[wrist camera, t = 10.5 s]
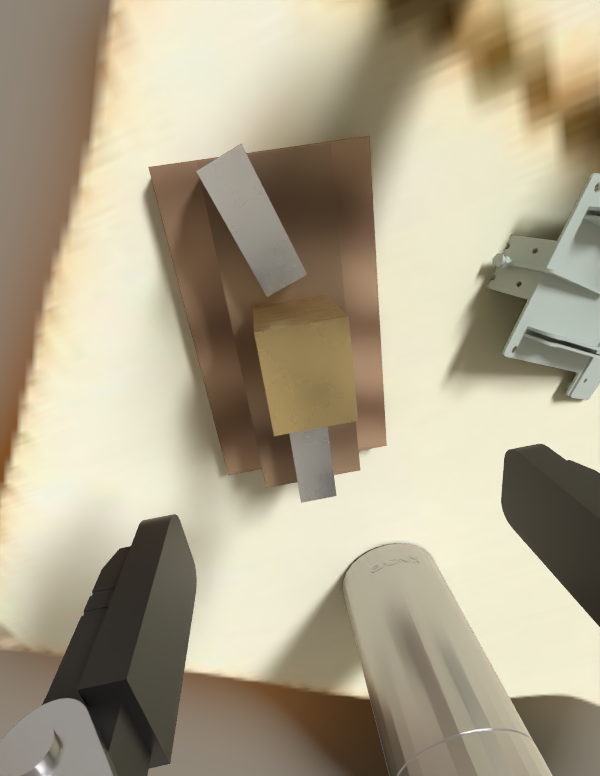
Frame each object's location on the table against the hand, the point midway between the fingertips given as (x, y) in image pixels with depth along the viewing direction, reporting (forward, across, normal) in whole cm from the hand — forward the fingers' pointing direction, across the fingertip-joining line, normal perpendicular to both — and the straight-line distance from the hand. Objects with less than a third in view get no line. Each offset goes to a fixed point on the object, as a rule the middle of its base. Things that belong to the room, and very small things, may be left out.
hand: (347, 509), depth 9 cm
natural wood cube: (+14, 0, 0) cm, 14 cm away
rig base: (+18, 0, 0) cm, 18 cm away
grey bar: (+14, +1, 0) cm, 14 cm away
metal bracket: (+19, -21, 0) cm, 28 cm away
